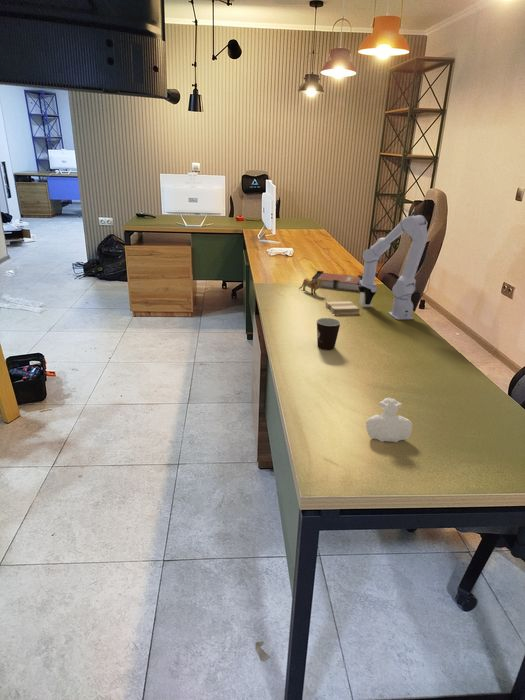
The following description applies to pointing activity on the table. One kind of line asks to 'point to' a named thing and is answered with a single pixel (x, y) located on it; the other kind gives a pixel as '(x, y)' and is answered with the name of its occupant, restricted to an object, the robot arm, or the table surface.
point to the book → (339, 281)
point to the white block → (363, 300)
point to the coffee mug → (327, 333)
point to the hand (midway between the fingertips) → (365, 302)
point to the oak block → (342, 307)
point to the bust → (389, 423)
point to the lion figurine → (312, 284)
